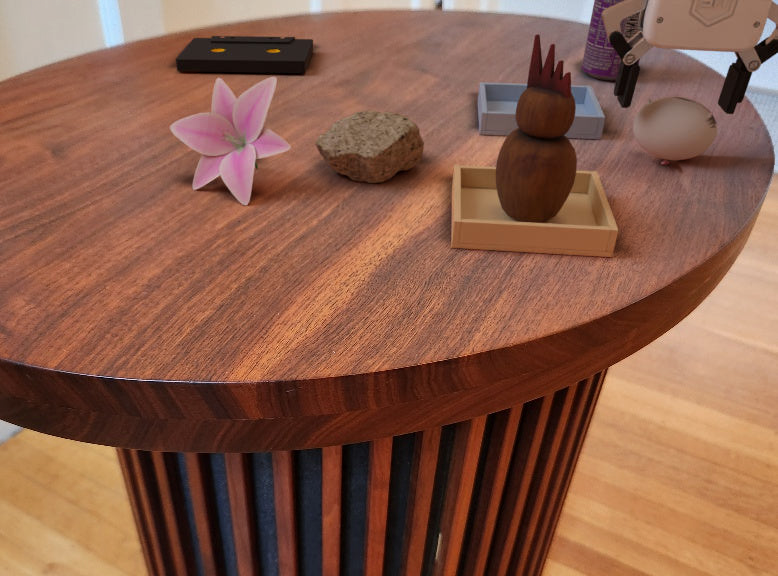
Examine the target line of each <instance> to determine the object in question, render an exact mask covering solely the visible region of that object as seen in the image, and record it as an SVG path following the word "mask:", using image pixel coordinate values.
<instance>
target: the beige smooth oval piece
mask: <svg viewBox="0 0 778 576" xmlns="http://www.w3.org/2000/svg"><path fill="white" fill-rule="evenodd" d="M632 131H633V136H634V139H635V140H636V142H637V144H638V145H639V146H640V148H642V150H644V151H646V152H647V153H648V154H650V155H652V156H654V157H657V158H659V159H662V160H663V159H664V160H663V161H661V162H660V163H661V165H665V166H666V165H669V164H670V161H684V160H689V159H693V158H695V157H698V156H699V155H702V154H703V153H705V152H706V151H707V150H708V149H710V148H711V146H712V145H713V143H714V141H715V140H716V137H717V135H718V134H717V133H718V126H717V121H716V118H715V116H714V115H713V112H711V111H710V110H709V109H708V107H706V105H704V104H703V103H700V102H698V101H697V100H694V99H693V98H689V97H683V96H676V95H675V96H674V95H673V96H665V97H659V98H657V99H653V100H652V99H651V98H650V97H648V103H646V104H645V105H643V106H642V107H641V108H640V109H639V111H638V112H637V113H636V115H635V117H634V119H633V123H632Z"/></svg>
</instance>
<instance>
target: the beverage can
mask: <svg viewBox="0 0 778 576" xmlns="http://www.w3.org/2000/svg"><path fill="white" fill-rule="evenodd" d="M622 1H625V0H593V7H592V11H591V15H590V22H589V26H588V33H587V37H586V42H585V46H584V47H585V48H584V51H583V52H584V53H583V58H582V63H581V70H582V71H583V72H585V73H587V74H588V76H590V77H591V78H594V79H597V80H601V81H616V79H617V75H618V70H619V66H620V62H621V58H620V56H619V55H618V54H617V52H616V51H615V49H614V48H613V47H612V45H611V44H610V42H609V40H608V38H607V34H606V30H605V27H604V23H603V19H602V12H603V11H604V10H605V9H607V8H609V7H611V6H613V5H616V4H618V3H620V2H622ZM640 12H641V11H640ZM640 12H638V13H636V14H634V15H631V16H629V17H627V18H624V19H623V20H622V21H621V23H620V27H621V32H622V35H623V37H624V38H625V40H626V41H628V40H629V39H631V38H632V37H633V36H634V35H635V34H636V33H637V32H638V31H639V30H638V21H639V16H640ZM640 60H641V58H640V59H638V63H637V64H638V65H639V64H640ZM639 66H640V65H639Z"/></svg>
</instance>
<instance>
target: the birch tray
mask: <svg viewBox="0 0 778 576" xmlns="http://www.w3.org/2000/svg"><path fill="white" fill-rule="evenodd" d="M450 230H451V231H450V232H451V234H450V235H451V236H450V237H451V238H450V239H451V240H450V247H451V249H467V250H468V249H469V250H483V251H499V252H500V251H501V252H517V253H532V254H533V253H534V254H549V255H550V254H551V255H565V256H566V255H568V256H585V257H602V258H612V257H613V255H614V250H615V247H616V243H617V238H618V235H619V227H618V225H617V222H616V219H615V217H614V214H613V211H612V208H611V206H610V203H609V200H608V197H607V195H606V192H605V189H604V186H603V184H602V181H601V178H600V176H599V173H598V171H597V170H578V169H577V170H576V176H575V181H574V185H573V187H572V189H571V191H570V194H569V196H568V198H567V200H566V201H565V203H564V205H563V206H562V208H561V209H560V211H559V212H558V213H557V215H556V216H555V217H553V218H551V219H550V220H548V221H546V222H543V223H531V222H521V221H518V220H516V219H513V218H512V217H510V216H508V215H507V214H506V213H505V211H504V210H503V209H502V207H501V204H500V201H499V197H498V193H497V187H496V166H487V165H485V166H484V165H465V164H463V165H462V164H454V165H453V176H452V185H451V229H450Z"/></svg>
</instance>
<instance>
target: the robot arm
mask: <svg viewBox="0 0 778 576" xmlns="http://www.w3.org/2000/svg"><path fill="white" fill-rule="evenodd" d="M640 11H641V12H640ZM638 12H640V16H639V21H638V30H639V31H638V32H637V33H636V34H635V35H634V36H633V37H632V38H631V39H629V40H628V41H626V40H625V38H624V37H623V35H622V32H621V27H620V23H621V21H622V20H623V19H624V18H627V17H629V16H631V15H634V14H636V13H638ZM602 19H603V23H604V27H605V30H606V34H607V38H608V40H609V42H610V44H611V45H612V47H613V48H614V49H615V51H616V52H617V54H618V55H619V56H620V58H621V62H620V66H619V70H618V75H617V79H616V80H615V82H614V83H615V84H614V89H613V95H614V96H615V97H617V102H618V103H619V105H620V107H621V108H623V109H628V108H629V107H631V105H632V102H633V98H634V95H635V90H636V86H637V82H638V78H639V75H640V71H641V66H640V65H638V64H637V63H638V59H640V60H641V59H642V57H644V55H646V54H647V53H648V52H649V51H650V50H651V49H652V48H657V49H665V50H680V51H681V50H683V51H700V52H701V51H702V52H722V53H734V54H735V57H736V60H735V62H732V63H731V64H730V65H729V67H728V69H727V72H726V76H725V79H724V82H723V84H722V87H721V91H720V94H719V97H718V99H717V105H718V106H719V107H720V109H722V111H723V112H724V113H725V114H726V115H734V114H735V111H736V108H737V105H738V104H741V103H742V102H743V101H744V98H745V95H746V92H747V90H748V86H749V84H750V81H751V77H752V75H753V72H756V71H758V70H759V69H760V68H761V65H762V64H764V63H766V62H767V61H769V60H770V59H771V58H773V57H774V56H776V55H777V54H778V4H777V3H776V2H774V1H773V0H625V1H622V2H620V3H618V4H616V5H613V6H611V7H609V8H607V9H605V10H604V11H603V12H602ZM767 20H770V21H771V22H773V23H774V24H775V28H774V30H772V32H771V34H770V35H769V36H767V37H766V38H764V39H763V40H761V38H762V35H763V33H764V30H765V26H766V24H767ZM760 40H761V41H760Z"/></svg>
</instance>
